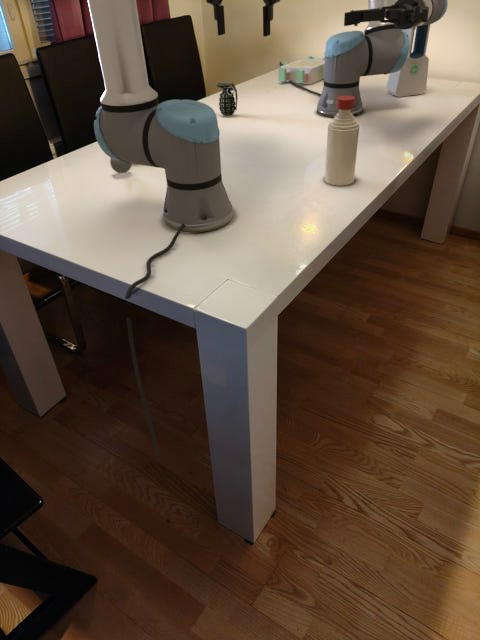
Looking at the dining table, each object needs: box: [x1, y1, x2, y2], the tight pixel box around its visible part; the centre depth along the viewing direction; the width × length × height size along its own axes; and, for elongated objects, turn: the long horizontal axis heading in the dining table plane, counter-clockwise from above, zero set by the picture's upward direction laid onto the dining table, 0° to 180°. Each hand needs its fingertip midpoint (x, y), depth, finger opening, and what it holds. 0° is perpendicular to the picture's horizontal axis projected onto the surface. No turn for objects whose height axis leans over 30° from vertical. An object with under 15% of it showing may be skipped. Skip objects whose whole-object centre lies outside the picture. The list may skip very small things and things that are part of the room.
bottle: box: [324, 110, 360, 187], centre depth 114 cm, size 7×7×19 cm
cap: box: [336, 96, 355, 110], centre depth 109 cm, size 4×4×2 cm
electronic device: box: [386, 24, 431, 98], centre depth 172 cm, size 12×8×30 cm, turn 105°
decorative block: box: [277, 55, 325, 85], centre depth 206 cm, size 26×6×20 cm
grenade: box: [215, 82, 238, 117], centre depth 166 cm, size 7×6×10 cm
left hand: (243, 35), depth 129 cm, fingers open, 13 cm apart
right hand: (371, 19), depth 113 cm, fingers open, 13 cm apart
